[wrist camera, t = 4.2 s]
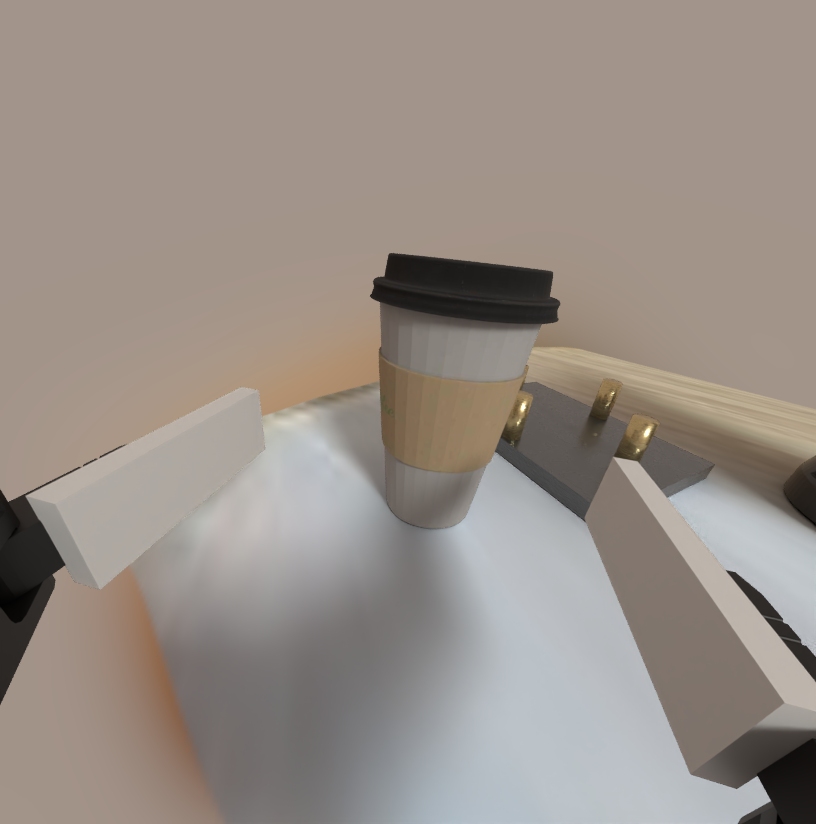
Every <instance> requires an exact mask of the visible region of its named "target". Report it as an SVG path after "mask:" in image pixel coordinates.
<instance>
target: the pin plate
mask: <svg viewBox="0 0 816 824" xmlns="http://www.w3.org/2000/svg"><path fill="white" fill-rule="evenodd" d="M528 368H529V366H528V365H526V366H525V371H526V374H525V377H524V379H523V382H522V384H521V387H520V389H519V392H518V394H517V397H516V399H515V402H514V404H513V407H512V409H511V412H510V414H509V417H508V419H507V422H506V424H505V427H504V429H503V432H502V434H501V437H500V439H499V442H498V444H497V447H496V449H495V451H496V452H497V453H499V454H500V455H501V456H502V457H504V458H505V459H506V460H508V461H509V462H510V463H511V464H513V465H514V466H515V467H516V468H518V469H519V470H520V471H522V472H523V473H524V474H525V475H527V476H528V477H529V478H531V479H532V480H533V481H534V482H536V483H537V484H538V485H540V486H541V487H542V488H543V489H545V490H546V491H547V492H549V493H550V494H551V495H552V496H554V497H555V498H556V499H557V500H559V501H560V502H561V503H563V504H564V505H565V506H566V507H568V508H569V509H570V510H572V511H573V512H574V513H575V514H577V515H578V516H579V517H581V518H582V519H583V520H584V521H585V518H584V517H585V515H586V513H587V511H588V509H589V507H590V505H591V503H592V501H593V498H594V496H595V494H596V492H597V490H598V488H599V486H600V484H601V481H602V479H603V477H604V475H605V473H606V471H607V469H608V467H609V464H610V462H611V460H612V458H613V457H616V458H622V459H627V460H632V461H638V463H639V464H640V465H641V466H642V467H643V469H644V470H645V471H646V472H647V474H648V475H649V476H650V477H651V479H652V480H653V481H654V482H655V484H656V485H657V486H658V487H659V489H660V490H661V491H662V492H663V493H664V495H665V496H666V497H669V496H671V495H673V494H675V493H677V492H679V491H681V490H683V489H685V488H687V487H689V486H691V485H693V484H695V483H697V482H699V481H701V480H703V479H705V478H706V477H707V476H708V474H709V473H710V471H711V470H712V468H713V467H714V465H715V464H713V463H711V462H709V461H707V460H705V459H702V458H700V457H698V456H696V455H694V454H692V453H689V452H687V451H685V450H683V449H681V448H679V447H676V446H674V445H672V444H670V443H668V442H666V441H663V440H661V439H659V438H657V437H655V436H654V434H655V432H656V430H657V428H658V426H659V424H660V422H659V421H658V420H656V419H654V418H652V417H649V416H646V415H642V414H633V416H632V418H631V420H630V422H629V424H626V423H624V422H622V421H620V420H618V419H616V418H613V417H611V416H609V415H610V412H611V410H612V408H613V406H614V403H615V401H616V399H617V396H618V394H619V392H620V389H621V387H622V385H623V384H622V383H621V382H619V381H616V380H612V379H603V382H602V384H601V386H600V389H599V391H598V394H597V396H596V399H595V401H594V404H593V406H592V407H589V406H587V405H585V404H583V403H581V402H579V401H576V400H574V399H572V398H570V397H568V396H566V395H563V394H561V393H559V392H557V391H555V390H553V389H550V388H548V387H546V386H544V385H542V384H539V383H537V382H533V383H524V382H525V378H526V375H527V371H528Z"/></svg>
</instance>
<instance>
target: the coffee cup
mask: <svg viewBox="0 0 816 824" xmlns="http://www.w3.org/2000/svg"><path fill="white" fill-rule="evenodd" d="M552 279H553V272H551V271H546V270H538V269H530V268H522V267H513V266H505V265H496V264H488V263H479V262H471V261H461V260H453V259H444V258H435V257H425V256H414V255H406V254H395V253H390V254H389V256H388V260H387V266H386V271H385V276H384V277H377V278H375V279H374V281H373V284H374V289H373V291H372V294H371V295H370V297H371V298H373V299H374V300H376V301H379V302H380V314H381V315H380V316H381V347H380V349H379V373H380V400H381V427H382V440H383V444H384V446H385V472H386V497H387V502H388V505H389V507H390V509H391V511H392V512H393V513H394V514H395V515H396V516H397V517H398V518H400V519H401V520H403V521H405V522H407V523H409V524H411V525H414V526H418V527H423V528H430V529H440V528H447V527H451V526H454V525H456V524H458V523H460V522H461V521H462V520H463V519H464V518H465V516H466V514H467V512H468V510H469V508H470V505H471V503H472V500H473V498H474V495H475V493H476V490H477V488H478V485H479V483H480V480H481V478H482V475H483V473H484V470H485V468H486V465H487V464H488V463H489V462H490V461H491V459H492V457H493V454H494V452H495V449H496V447H497V444H498V442H499V439H500V437H501V434H502V432H503V429H504V427H505V424H506V422H507V419H508V417H509V414H510V412H511V409H512V407H513V404H514V402H515V399H516V397H517V394H518V392H519V389H520V387H521V384H522V382H523V379H524V377H525V374H526V371H525V366H526V363H527V361H528V358H529V356H530V353H531V350H532V348H533V345H534V343H535V340H536V337H537V335H538V332H539V330H540V327H541V325H542V324H547V323H554V322H557V321H558V318H557V310H558V308H559V306H560V302H559V301H558V300H557V299H555V298H552V297H550V292H551V286H552Z"/></svg>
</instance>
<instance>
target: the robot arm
mask: <svg viewBox="0 0 816 824" xmlns="http://www.w3.org/2000/svg"><path fill="white" fill-rule="evenodd" d="M264 450H265V440H264V432H263V424H262V415H261V407H260V399H259V391H258V390H254V389H249V388H244V387H240V388H238V389H236V390H234V391H233V392H230V393H228V394H226V395H224V396H222V397H220V398H219V399H216V400H214V401H212V402H211V403H208V404H207V405H205V406H203V407H201V408H199V409H197V410H195V411H193V412H191V413H189V414H187V415H185V416H183V417H181V418H179V419H177V420H175V421H173V422H171V423H169V424H167V425H165V426H163V427H161V428H159V429H157V430H155V431H153V432H151V433H149V434H147V435H145V436H143V437H141V438H139V439H137V440H135V441H133V442H131V443H129V444H126V445H123V446H120V447H118V448H116V449H114V450H112V451H110V452H108V453H106V454H104V455H102V456H100V458H99V459H94V460H92V461H90V462H88V463H86V464H84V465H83V467H78V468H76V469H74V470H72V471H70V472H68V473H66V474H64V475H62V476H60V477H58V478H56V479H54V480H52V481H50V482H48V483H46V484H44V485H42V486H40V487H38V488H36V489H34V490H32V491H30V492H28V493H26V494H24V495H22V496H20V497H18V498H16V499H14V500H11V501H9V502H8V501H7V500H6V498H5V496H4V495H3V493H2V491H1V490H0V704H1V702H2V700H3V698H4V695H5V694H6V691H7V689H8V687H9V685H10V683H11V681H12V678H13V676H14V674H15V672H16V670H17V667H18V665H19V663H20V661H21V659H22V657H23V654H24V652H25V650H26V648H27V646H28V644H29V641H30V639H31V637H32V635H33V633H34V631H35V628H36V626H37V624H38V622H39V620H40V618H41V615H42V613H43V611H44V608H45V607H46V605H47V602H48V600H49V598H50V596H51V594H52V591H53V589H54V586H55V579H54V577H53V575H52V574H53V573H55V572H56V571H58V570H59V569H61V568H62V567H63V566H66V568H67V570H68V572H69V573H70V575H71V577H72V579H73V580H74V582H76V583H80V584H83V585H86V586H89V587H93V588H96V589H99V590H100V589H102V588H103V587H104V586H105V585H106V584H107V583H109V582H110V581H111V580H112V579H113V578H114V577H116V576H117V575H118V574H119V573H120V572H122V571H123V570H124V569H125V568H126V567H127V566H129V565H130V564H131V563H132V562H133V561H134V560H136V559H137V558H138V557H139V556H140V555H142V554H143V553H144V552H145V551H146V550H147V549H149V548H150V547H151V546H152V545H153V544H154V543H156V542H157V541H158V540H159V539H160V538H162V537H163V536H164V535H165V534H166V533H167V532H169V531H170V530H171V529H172V528H173V527H174V526H176V525H177V524H178V523H179V522H180V521H181V520H183V519H184V518H185V517H186V516H187V515H189V514H190V513H191V512H192V511H193V510H194V509H196V508H197V507H198V506H199V505H200V504H201V503H203V502H204V501H205V500H206V499H207V498H208V497H210V496H211V495H212V494H213V493H214V492H216V491H217V490H218V489H219V488H220V487H221V486H223V485H224V484H225V483H226V482H227V481H228V480H230V479H231V478H232V477H233V476H234V475H236V474H237V473H238V472H239V471H240V470H241V469H243V468H244V467H245V466H246V465H247V464H248V463H250V462H251V461H252V460H253V459H254V458H255V457H257V456H258V455H259V454H260V453H261V452H263V451H264ZM784 491H785V494H786V496H787V497H788V499H789V500H790V501H791V502H792V503H793V504H794V505H795V506H796V507H797V508H798V509H799V510H800V511H801V512H802V513H803V514H804V515H806V516H807V517H808V518H809V519H810V520H812V521H813V522H814V523H816V456H814V457H812V458H811V459H809V460H807V461H806V462H804V463H803V464H801V465H800V466H799V467H798V468H797V469H796V471H795V472H794V473H793V474H792V476H791V477H790V478H789V479H788V481H787V482H786V483H785V485H784ZM584 518H585V521H586V523H587V526H588V528H589V531H590V533H591V535H592V538H593V540H594V543H595V545H596V547H597V550H598V552H599V555H600V557H601V560H602V562H603V564H604V567H605V569H606V572H607V574H608V576H609V579H610V581H611V584H612V586H613V589H614V591H615V593H616V596H617V598H618V601H619V603H620V605H621V608H622V610H623V613H624V615H625V617H626V620H627V622H628V625H629V627H630V630H631V632H632V634H633V637H634V639H635V642H636V644H637V646H638V649H639V651H640V654H641V656H642V659H643V661H644V663H645V666H646V668H647V671H648V673H649V675H650V678H651V680H652V683H653V685H654V688H655V690H656V692H657V695H658V697H659V700H660V702H661V704H662V707H663V709H664V712H665V714H666V717H667V719H668V721H669V724H670V726H671V729H672V731H673V733H674V736H675V738H676V741H677V743H678V745H679V748H680V750H681V753H682V755H683V758H684V760H685V762H686V765H687V767H688V770H689V772H690V774H691V775H694V776H697V777H700V778H704V779H707V780H710V781H713V782H716V783H720V784H723V785H726V786H729V787H732V788H736V789H737V788H739V787H741V786H742V785H744V784H745V783H747V782H749V781H750V780H752V779H753V778H755V777H756V776H758V777H759V779H760V781H761V783H762V785H763V787H764V789H765V790H766V792H767V794H768V796H769V798H770V800H771V802H769V803H767V804H765V805H763V806H762V807H760V808H758V809H756V810H754V811H753V812H751V813H749V814H747V815H745V816H744V817H742V818H741V819H740V821H739V823H738V824H816V657H815V656H814V654H813V653H812V652H811V651H810V650H809V649H808V647H807V646H804V645H802V644H801V639H800V638H799V637H798V636H797V635H796V633H795V632H794V631H793V630H792V629H791V628H790V626H789V625H788V624H785V623H783V618H782V617H781V616H780V615H779V614H778V612H777V611H776V610H775V609H774V608H773V607H772V605H771V604H770V603H769V602H768V601H767V600H766V598H765V597H764V596H763V595H762V594H761V593H760V592H758V591H757V590H756V589H755V588H754V587H752V586H751V585H750V584H749V583H748V582H746V581H745V580H744V579H743V578H742V577H740V576H739V575H738V574H737V573H735V572H732V571H727V570H725V569H724V568H723V567H722V565H721V564H720V563H719V562H718V560H717V559H716V558H715V557H714V555H713V554H712V553H711V552H710V550H709V549H708V548H707V547H706V545H705V544H704V543H703V542H702V541H701V539H700V538H699V537H698V536H697V534H696V533H695V532H694V531H693V529H692V528H691V527H690V526H689V524H688V523H687V522H686V521H685V519H684V518H683V517H682V516H681V515H680V513H679V512H678V511H677V510H676V508H675V507H674V506H673V505H672V503H671V502H670V501H669V500H668V498H667V497H666V496H665V495H664V493H663V492H662V491H661V490H660V489H659V487H658V486H657V485H656V484H655V482H654V481H653V480H652V479H651V477H650V476H649V475H648V474H647V472H646V471H645V470H644V469H643V467H642V466H641V465H640V464H639V463H638V461H632V460H627V459H622V458H616V457H613V458H612V460H611V462H610V464H609V467H608V469H607V471H606V473H605V475H604V477H603V479H602V481H601V484H600V486H599V488H598V490H597V492H596V494H595V496H594V498H593V501H592V503H591V505H590V507H589V509H588V511H587V513H586V515H585V517H584Z"/></svg>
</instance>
